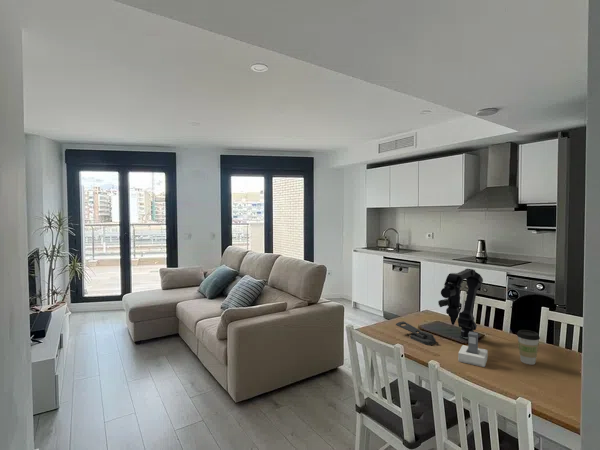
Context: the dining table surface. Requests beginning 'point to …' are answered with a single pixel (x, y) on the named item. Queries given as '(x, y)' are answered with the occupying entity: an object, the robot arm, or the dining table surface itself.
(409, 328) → the zipper pull
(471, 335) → the bracket post
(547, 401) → the dining table surface
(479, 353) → the block
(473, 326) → the robot arm
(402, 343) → the dining table surface
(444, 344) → the dining table surface
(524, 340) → the coffee cup
